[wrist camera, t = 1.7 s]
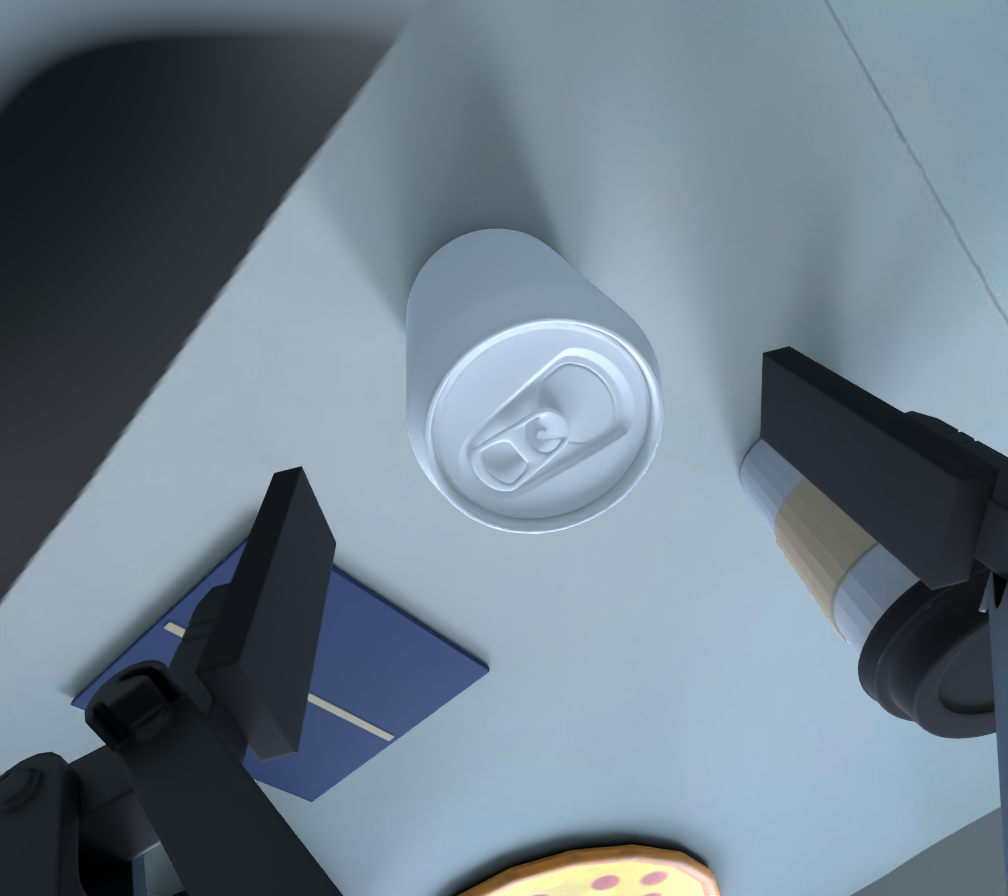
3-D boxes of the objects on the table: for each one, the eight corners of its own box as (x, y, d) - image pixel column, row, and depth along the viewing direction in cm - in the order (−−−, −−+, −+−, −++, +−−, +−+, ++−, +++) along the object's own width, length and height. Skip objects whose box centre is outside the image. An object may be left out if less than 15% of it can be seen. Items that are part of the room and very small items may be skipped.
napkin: (73, 699, 35) (69, 706, 34) (264, 520, 31) (262, 526, 30) (312, 797, 43) (311, 803, 43) (489, 666, 39) (490, 672, 38)
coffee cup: (792, 544, 37) (996, 766, 24) (679, 501, 34) (843, 730, 21) (894, 424, 34) (1196, 611, 21) (778, 364, 31) (1048, 539, 18)
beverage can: (607, 328, 28) (724, 447, 18) (478, 425, 30) (516, 585, 19) (511, 185, 24) (588, 230, 14) (368, 304, 26) (343, 424, 16)
